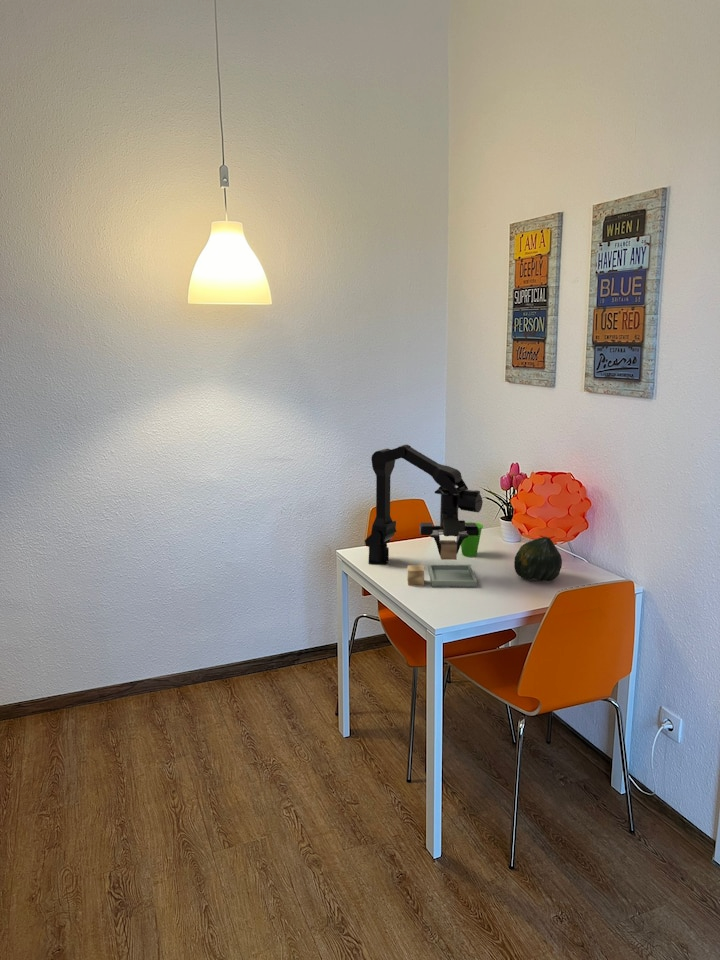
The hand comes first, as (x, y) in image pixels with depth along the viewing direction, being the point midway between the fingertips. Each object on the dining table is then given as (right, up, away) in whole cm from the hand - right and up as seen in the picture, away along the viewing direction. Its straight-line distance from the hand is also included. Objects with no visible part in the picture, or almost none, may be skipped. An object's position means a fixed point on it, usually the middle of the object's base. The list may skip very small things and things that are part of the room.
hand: (448, 554), depth 228 cm
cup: (+11, -3, +23) cm, 25 cm away
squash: (+29, -8, -1) cm, 30 cm away
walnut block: (0, -1, 0) cm, 1 cm away
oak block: (-11, -9, -5) cm, 15 cm away
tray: (+1, -8, -2) cm, 8 cm away
